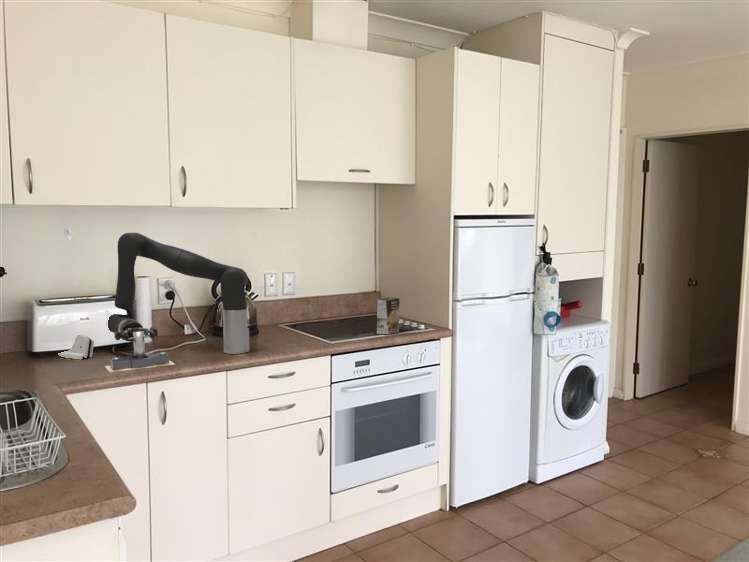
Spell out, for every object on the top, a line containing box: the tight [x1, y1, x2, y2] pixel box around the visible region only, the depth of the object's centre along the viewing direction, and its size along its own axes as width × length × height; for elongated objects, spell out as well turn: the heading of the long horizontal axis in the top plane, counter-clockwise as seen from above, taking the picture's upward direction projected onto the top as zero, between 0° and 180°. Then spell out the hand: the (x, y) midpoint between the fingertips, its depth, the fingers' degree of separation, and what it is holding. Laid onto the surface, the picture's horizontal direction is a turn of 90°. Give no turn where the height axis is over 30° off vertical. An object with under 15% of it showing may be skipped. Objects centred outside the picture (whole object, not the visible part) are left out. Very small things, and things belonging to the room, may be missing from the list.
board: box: [104, 359, 176, 373], centre depth 228 cm, size 22×10×1 cm, turn 123°
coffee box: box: [376, 297, 400, 335], centre depth 295 cm, size 9×6×16 cm
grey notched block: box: [109, 351, 170, 370], centre depth 228 cm, size 19×7×4 cm, turn 123°
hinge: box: [58, 334, 95, 361], centre depth 244 cm, size 17×5×10 cm, turn 65°
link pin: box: [132, 331, 146, 359], centre depth 228 cm, size 4×4×12 cm
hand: (140, 337), depth 225 cm, fingers open, 8 cm apart
